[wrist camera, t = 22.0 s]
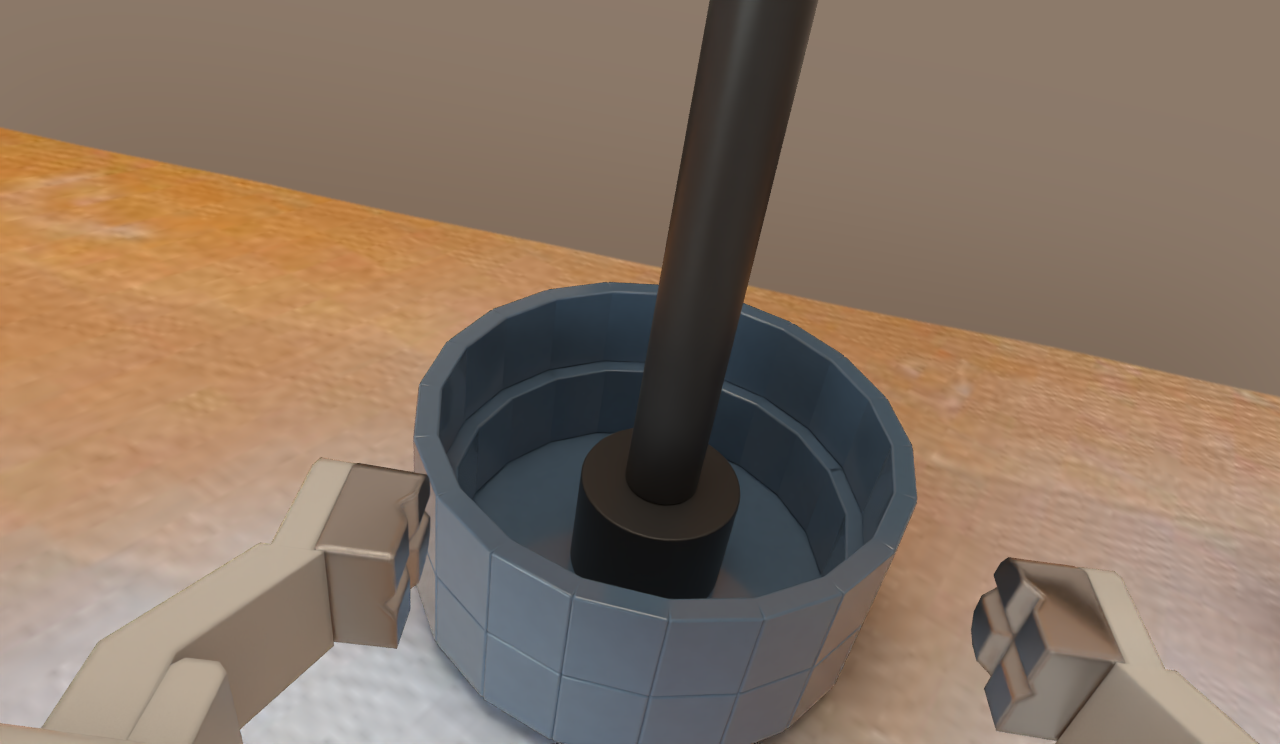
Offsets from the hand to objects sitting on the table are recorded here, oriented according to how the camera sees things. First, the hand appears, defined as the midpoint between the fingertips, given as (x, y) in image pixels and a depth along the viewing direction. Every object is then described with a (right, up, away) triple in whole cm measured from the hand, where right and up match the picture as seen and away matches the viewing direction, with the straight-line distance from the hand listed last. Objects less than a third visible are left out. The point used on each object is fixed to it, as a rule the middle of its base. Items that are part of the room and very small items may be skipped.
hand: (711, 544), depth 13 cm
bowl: (-1, -3, +14) cm, 15 cm away
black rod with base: (-1, -3, +14) cm, 14 cm away
